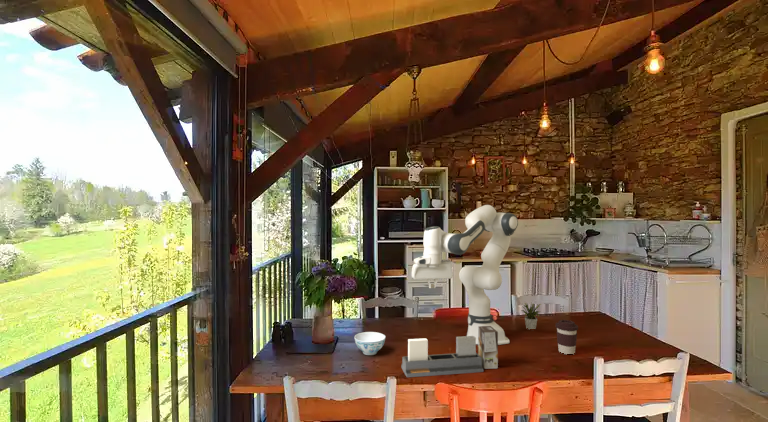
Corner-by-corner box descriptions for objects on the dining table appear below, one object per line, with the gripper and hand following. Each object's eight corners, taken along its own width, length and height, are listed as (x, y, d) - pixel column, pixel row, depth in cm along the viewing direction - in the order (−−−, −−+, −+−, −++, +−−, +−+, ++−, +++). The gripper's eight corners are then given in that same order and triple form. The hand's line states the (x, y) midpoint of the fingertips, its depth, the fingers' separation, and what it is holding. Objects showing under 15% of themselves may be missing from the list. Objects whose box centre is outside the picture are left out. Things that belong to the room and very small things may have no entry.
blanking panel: (409, 369, 160) (409, 341, 160) (407, 367, 162) (408, 339, 162) (427, 368, 161) (427, 340, 161) (425, 366, 164) (426, 338, 164)
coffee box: (498, 368, 165) (498, 331, 165) (484, 369, 164) (484, 332, 164) (490, 360, 174) (490, 325, 174) (477, 361, 173) (477, 325, 174)
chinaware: (386, 358, 176) (386, 341, 176) (354, 358, 175) (354, 342, 175) (384, 346, 191) (384, 331, 191) (354, 347, 190) (354, 332, 190)
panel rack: (473, 362, 171) (474, 332, 171) (483, 371, 161) (483, 340, 161) (401, 367, 165) (401, 336, 166) (406, 377, 156) (406, 344, 156)
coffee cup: (576, 350, 188) (576, 320, 188) (579, 357, 178) (579, 325, 179) (554, 347, 191) (554, 318, 191) (556, 354, 182) (556, 323, 182)
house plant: (513, 329, 222) (513, 301, 222) (518, 323, 233) (518, 297, 233) (539, 333, 214) (539, 304, 214) (543, 327, 226) (543, 299, 226)
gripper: (450, 258, 190) (450, 286, 190) (410, 259, 186) (410, 287, 186) (454, 260, 183) (454, 288, 183) (413, 260, 180) (413, 289, 180)
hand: (432, 288), depth 185 cm, fingers closed
